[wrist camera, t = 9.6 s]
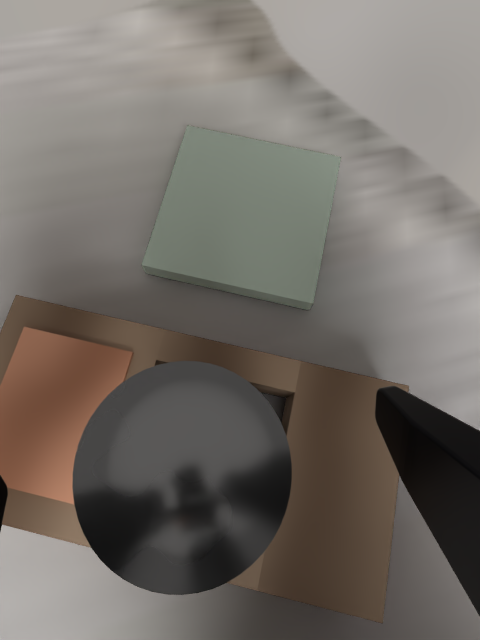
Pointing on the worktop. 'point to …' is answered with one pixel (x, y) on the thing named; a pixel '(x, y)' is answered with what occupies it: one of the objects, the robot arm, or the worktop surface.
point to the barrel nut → (182, 477)
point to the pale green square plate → (244, 217)
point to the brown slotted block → (268, 377)
